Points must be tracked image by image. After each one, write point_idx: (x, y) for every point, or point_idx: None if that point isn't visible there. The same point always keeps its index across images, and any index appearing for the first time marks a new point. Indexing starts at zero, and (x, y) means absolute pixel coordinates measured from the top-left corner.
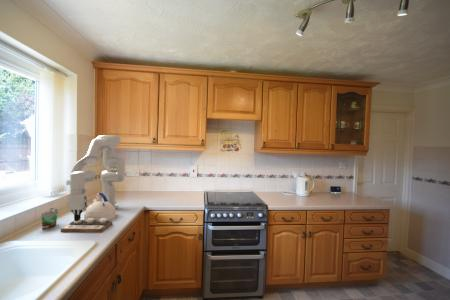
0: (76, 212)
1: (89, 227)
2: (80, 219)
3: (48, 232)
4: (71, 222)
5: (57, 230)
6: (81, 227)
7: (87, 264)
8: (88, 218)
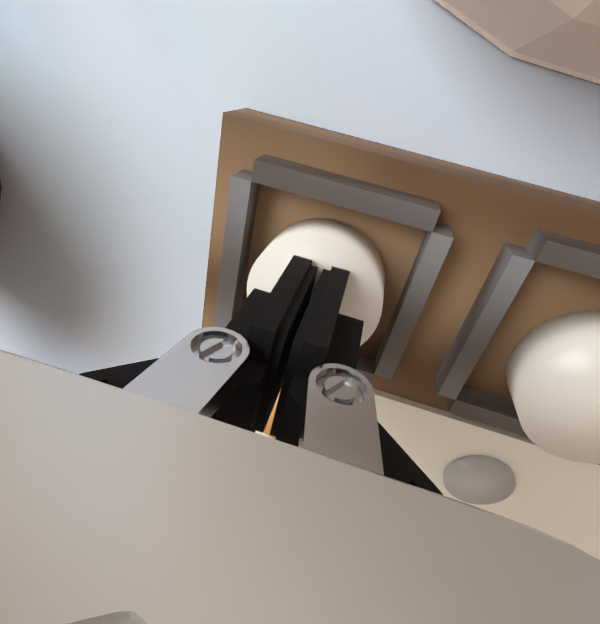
0: (227, 413)
1: (566, 524)
2: (358, 270)
3: (93, 366)
4: (228, 301)
5: (145, 336)
6: (449, 489)
7: None
8: (558, 367)
